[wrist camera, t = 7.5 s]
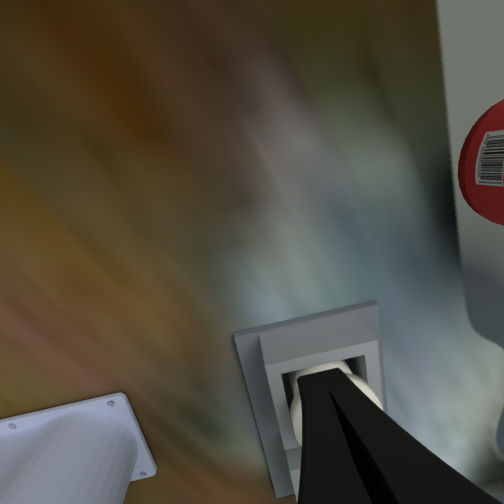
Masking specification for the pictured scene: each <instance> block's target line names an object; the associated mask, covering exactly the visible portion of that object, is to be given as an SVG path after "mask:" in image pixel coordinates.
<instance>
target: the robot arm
mask: <svg viewBox="0 0 504 504" xmlns="http://www.w3.org/2000/svg"><path fill="white" fill-rule="evenodd" d="M297 384H298V389H299V394H300V399H301V409H302V451H301V468H300V482H299V492H298V502H297V504H502V503H501V502H499V501H498V500H497V499H495V498H494V497H492V496H491V495H489V494H488V493H486V492H485V491H484V490H482V489H481V488H479V487H478V486H476V485H475V484H474V483H472V482H471V481H470V480H468V479H467V478H465V477H464V476H463V475H461V474H460V473H459V472H457V471H456V470H454V469H453V468H452V467H450V466H449V465H448V464H446V463H445V462H444V461H443V460H441V459H440V458H439V457H437V456H436V455H435V454H434V453H432V452H431V451H430V450H428V449H427V448H426V447H425V446H424V445H422V444H421V443H420V442H419V441H417V440H416V439H415V438H414V437H412V436H411V435H410V434H409V433H408V432H407V431H405V430H404V429H403V428H402V427H401V426H399V425H398V424H397V423H396V422H395V421H394V420H393V419H392V418H390V417H389V416H388V415H387V414H386V413H385V412H384V411H383V410H381V409H380V408H379V407H378V406H377V405H376V404H375V403H374V402H373V401H372V400H371V399H370V398H369V397H368V396H367V395H366V394H365V393H363V392H362V391H361V390H360V389H359V388H358V387H357V386H356V385H355V384H354V383H353V381H352V380H351V379H350V378H349V377H348V376H347V375H346V374H345V373H344V372H343V371H342V370H341V369H340V368H338V367H337V368H333V369H328V370H324V371H320V372H315V373H311V374H307V375H302V376H299V378H298V379H297ZM111 401H113V402H111ZM156 470H157V466H156V464H155V461H154V459H153V457H152V455H151V452H150V450H149V448H148V445H147V443H146V441H145V438H144V436H143V434H142V431H141V429H140V427H139V424H138V422H137V420H136V417H135V415H134V413H133V410H132V408H131V406H130V403H129V401H128V399H127V396H126V395H125V394H123V393H114V394H110V395H106V396H101V397H97V398H92V399H88V400H84V401H79V402H75V403H71V404H66V405H62V406H58V407H53V408H49V409H45V410H40V411H36V412H31V413H27V414H23V415H18V416H14V417H10V418H5V419H1V420H0V504H123V502H124V498H125V495H126V492H127V489H128V486H129V482H130V481H134V480H139V479H143V478H147V477H151V476H154V475H155V473H156Z"/></svg>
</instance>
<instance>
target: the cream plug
mask: <svg viewBox="0 0 504 504" xmlns="http://www.w3.org/2000/svg"><path fill="white" fill-rule="evenodd" d="M337 367H338V368H340V369H341V370H342V371H343V372H344V373H345V374H346V375H347V376H348V377H349V378H350V379H351V380H352V381H353V383H354V384H355V385H356V386H357V387H358V388H359V389H360V390H361V391H362V392H363V393H365V394H366V395H367V396H368V397H369V398H370V399H371V400H372V401H373V402H374V403H375V404H376V405H377V406H378V407H379V408H380V409H381V410H383V408H382V405H381V403H380V401H379V399H378V398H377V396H376V395H375V393H374V392H373V390H372V388H371V387H370V386H369V384H368V383H367V382H366V381H365V380H363V379H362V378H360V377H358V376H356V375H354V374H352V372H351V370H350V369H349V367H348V365H347V364H346V362H345V360H340V361H335V362H331V363H327V364H322V365H318V366H314V367H309V368H305V369H300V370H296V371H292V372H287V373H288V378H289V381H290V385H291V389H292V392H293V396H294V399H293V401H292V404H291V408H290V416H291V421H292V425H293V429H294V433H295V437H296V439H297V441H298V443H299V444H300V445H301V446H302V409H301V399H300V394H299V389H298V384H297V379H298V378H299V376H302V375H307V374H311V373H315V372H320V371H324V370H328V369H333V368H337Z"/></svg>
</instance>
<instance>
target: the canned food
mask: <svg viewBox="0 0 504 504" xmlns="http://www.w3.org/2000/svg"><path fill="white" fill-rule="evenodd" d="M458 179H459V186H460V189H461V192H462V195H463V197H464V199H465V200H466V202H467V203H468V205H469V206H470V207H471V208H472V209H473V210H474V211H475V212H477V213H478V214H480V215H481V216H483V217H484V218H486V219H488V220H490V221H492V222H494V223H498V224H501V225H504V99H503V100H502V101H500V102H498V103H497V104H495V105H494V106H492V107H491V108H490V109H488V110H487V111H486V112H485V113H484V114H483V115H482V116H481V117H480V118H479V119H478V121H477V122H476V123H475V124H474V125H473V127H472V129H471V130H470V132H469V134H468V136H467V137H466V139H465V142H464V144H463V147H462V150H461V153H460V158H459V163H458Z"/></svg>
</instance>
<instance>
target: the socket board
mask: <svg viewBox="0 0 504 504" xmlns="http://www.w3.org/2000/svg"><path fill="white" fill-rule="evenodd" d="M234 340H235V344H236V347H237V351H238V355H239V359H240V362H241V366H242V370H243V374H244V377H245V381H246V385H247V389H248V392H249V396H250V400H251V404H252V407H253V411H254V415H255V419H256V422H257V426H258V430H259V434H260V437H261V441H262V445H263V449H264V452H265V456H266V460H267V464H268V467H269V471H270V475H271V479H272V482H273V486H274V490H275V494H276V497H277V498H281V497H285V496H289V495H293V494H295V496H296V500H297V502H298V492H299V482H300V468H301V451H302V446H301V445H300V444H299V443H298V441H297V439H296V437H295V433H294V429H293V425H292V421H291V416H290V408H291V404H292V401H293V399H294V396H293V392H292V389H291V385H290V381H289V378H288V373H287V372H292V371H296V370H300V369H305V368H309V367H314V366H318V365H322V364H327V363H331V362H335V361H340V360H345V362H346V364H347V365H348V367H349V369H350V370H351V372H352V374H354V375H356V376H358V377H360V378H362V379H363V380H365V381H366V382H367V383H368V384H369V386H370V387H371V388H372V390H373V392H374V393H375V395H376V396H377V398H378V399H379V401H380V403H381V405H382V408H383V411H384V412H385V413H386V414H387V415H388V413H387V401H386V389H385V378H384V366H383V355H382V343H381V331H380V320H379V308H378V304H377V303H376V302H375V301H370V302H365V303H361V304H356V305H352V306H348V307H343V308H339V309H334V310H330V311H326V312H321V313H317V314H313V315H308V316H304V317H299V318H295V319H291V320H286V321H282V322H277V323H273V324H269V325H264V326H260V327H255V328H251V329H247V330H242V331H238V332H234Z"/></svg>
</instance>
